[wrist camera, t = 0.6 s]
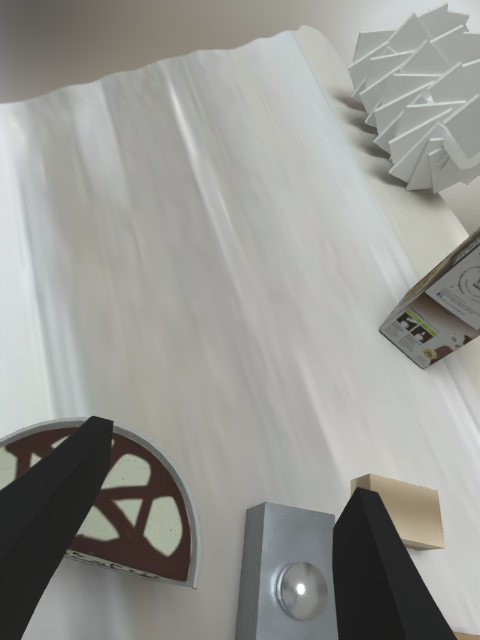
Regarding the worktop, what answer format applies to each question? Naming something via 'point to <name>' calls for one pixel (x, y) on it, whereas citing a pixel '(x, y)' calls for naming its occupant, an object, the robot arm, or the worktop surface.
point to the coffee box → (440, 308)
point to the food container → (123, 504)
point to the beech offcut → (408, 510)
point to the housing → (287, 575)
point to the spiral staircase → (423, 96)
